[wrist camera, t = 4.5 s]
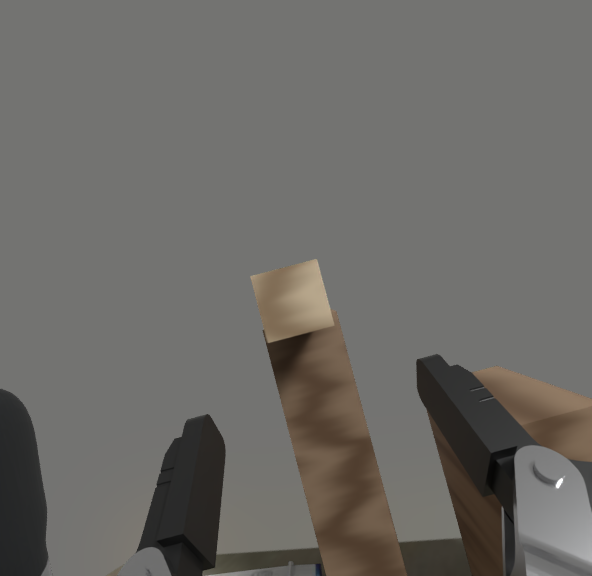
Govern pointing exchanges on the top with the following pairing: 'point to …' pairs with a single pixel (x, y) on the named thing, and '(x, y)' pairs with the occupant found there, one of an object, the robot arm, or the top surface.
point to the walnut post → (335, 454)
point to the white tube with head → (281, 571)
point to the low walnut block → (540, 426)
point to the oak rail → (292, 301)
